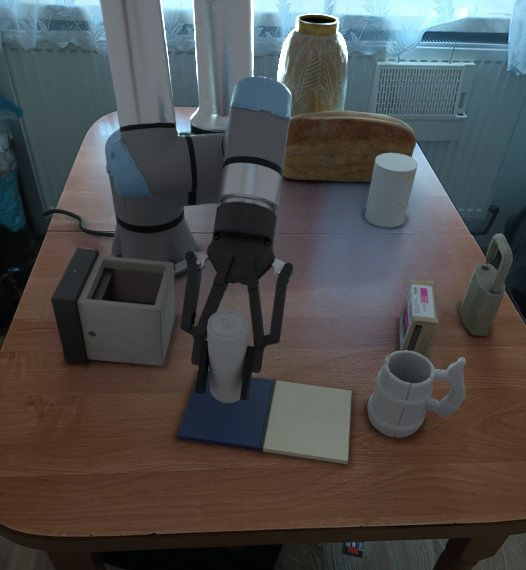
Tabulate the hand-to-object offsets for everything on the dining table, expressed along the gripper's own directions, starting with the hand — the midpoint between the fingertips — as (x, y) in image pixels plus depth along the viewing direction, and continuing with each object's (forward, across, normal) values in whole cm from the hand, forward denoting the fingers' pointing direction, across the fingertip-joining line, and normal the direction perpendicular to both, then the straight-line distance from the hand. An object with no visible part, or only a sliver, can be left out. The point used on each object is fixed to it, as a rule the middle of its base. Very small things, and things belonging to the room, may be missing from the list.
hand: (222, 395), depth 66 cm
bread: (-51, -11, -60) cm, 80 cm away
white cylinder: (-38, -21, -48) cm, 65 cm away
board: (+2, -5, -8) cm, 10 cm away
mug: (0, -24, -10) cm, 26 cm away
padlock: (-16, -36, -27) cm, 48 cm away
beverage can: (0, 0, -5) cm, 5 cm away
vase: (-65, -1, -74) cm, 98 cm away
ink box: (-11, -25, -21) cm, 35 cm away
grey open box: (-5, +19, -16) cm, 25 cm away
